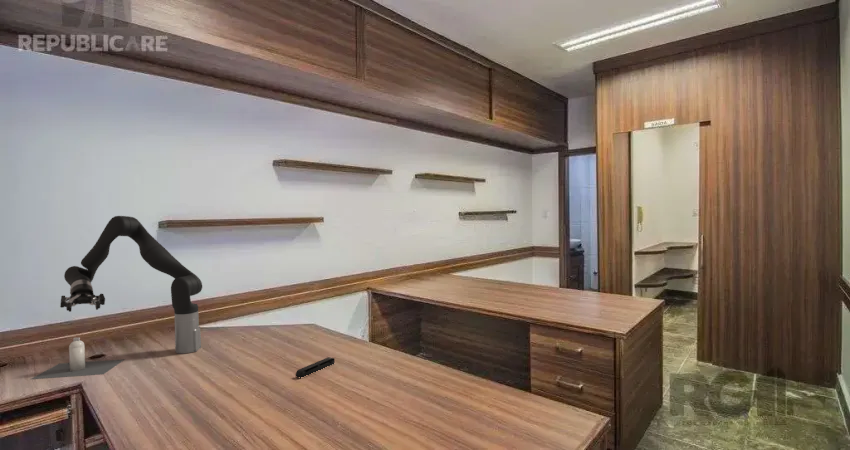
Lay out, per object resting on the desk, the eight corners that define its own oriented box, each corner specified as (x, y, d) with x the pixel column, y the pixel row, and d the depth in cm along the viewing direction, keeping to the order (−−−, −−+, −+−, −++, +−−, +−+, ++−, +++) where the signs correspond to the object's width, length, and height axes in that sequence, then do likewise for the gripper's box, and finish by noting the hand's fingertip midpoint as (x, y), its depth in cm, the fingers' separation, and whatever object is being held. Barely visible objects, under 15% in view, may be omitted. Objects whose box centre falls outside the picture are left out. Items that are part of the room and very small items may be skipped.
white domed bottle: (87, 366, 164) (86, 335, 164) (80, 370, 160) (79, 339, 159) (74, 367, 163) (73, 336, 163) (67, 371, 159) (65, 340, 158)
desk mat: (125, 360, 172) (125, 359, 172) (103, 375, 156) (103, 374, 156) (59, 364, 167) (59, 363, 167) (29, 380, 152) (29, 379, 152)
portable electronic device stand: (300, 380, 152) (300, 372, 152) (295, 378, 154) (295, 370, 154) (335, 364, 167) (335, 357, 167) (330, 363, 169) (330, 356, 169)
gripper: (60, 284, 173) (61, 301, 162) (103, 282, 183) (107, 298, 172) (59, 300, 175) (60, 318, 163) (101, 297, 184) (105, 315, 173)
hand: (84, 308), depth 167 cm, fingers open, 8 cm apart
